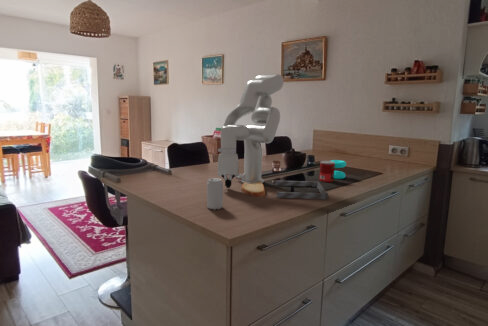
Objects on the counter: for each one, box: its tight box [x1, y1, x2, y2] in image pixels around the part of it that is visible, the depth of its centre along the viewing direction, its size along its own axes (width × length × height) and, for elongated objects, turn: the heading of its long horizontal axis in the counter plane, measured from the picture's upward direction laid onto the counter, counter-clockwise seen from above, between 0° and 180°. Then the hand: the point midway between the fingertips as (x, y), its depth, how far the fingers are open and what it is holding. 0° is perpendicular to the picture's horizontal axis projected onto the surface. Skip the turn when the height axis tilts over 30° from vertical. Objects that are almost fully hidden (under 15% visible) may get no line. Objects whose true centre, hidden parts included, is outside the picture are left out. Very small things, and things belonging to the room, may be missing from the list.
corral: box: [274, 179, 329, 200], centre depth 162 cm, size 23×24×2 cm
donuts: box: [330, 159, 347, 180], centre depth 195 cm, size 10×10×10 cm
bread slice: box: [240, 182, 266, 198], centre depth 163 cm, size 18×18×4 cm
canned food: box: [319, 160, 336, 183], centre depth 186 cm, size 8×8×11 cm
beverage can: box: [206, 177, 224, 211], centre depth 133 cm, size 6×6×12 cm
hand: (228, 187), depth 164 cm, fingers closed
